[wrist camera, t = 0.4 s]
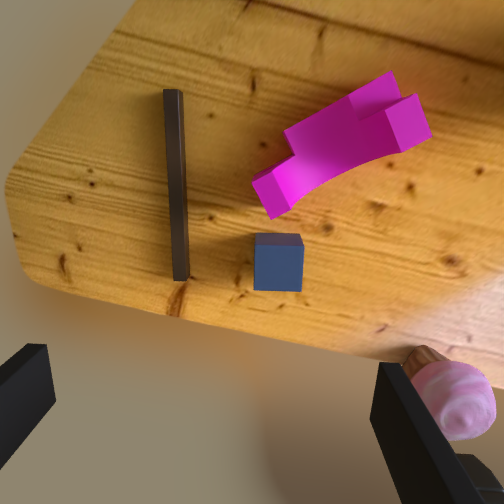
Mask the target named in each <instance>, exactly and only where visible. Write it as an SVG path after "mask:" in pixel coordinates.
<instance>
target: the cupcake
mask: <svg viewBox="0 0 504 504" xmlns="http://www.w3.org/2000/svg"><path fill="white" fill-rule="evenodd" d="M402 368H403V370H404V371H405V373H406V374H407V376H408V378H409V379H410V381H411V383H412V384H413V386H414V387H415V389H416V391H417V392H418V394H419V396H420V397H421V399H422V400H423V402H424V404H425V405H426V407H427V408H428V410H429V412H430V413H431V415H432V417H433V418H434V420H435V421H436V423H437V425H438V426H439V428H440V430H441V431H442V433H443V434H444V436H445V438H446V439H447V440H448V441H454V440H466V439H471V438H475V437H477V436H479V435H481V434H483V433H484V432H485V431H486V430H488V429H489V428H490V426H491V424H492V423H493V422H494V420H495V419H496V402H495V398H494V394H493V391H492V388H491V386H490V383H489V381H488V380H487V378H486V377H485V376H484V374H483V373H482V372H480V371H479V370H478V369H477V368H475V367H473V366H471V365H469V364H465V363H461V362H457V361H450V360H449V359H447V358H446V357H444V356H443V355H441V354H439V353H438V352H437V351H435V350H434V349H432V348H429V347H428V346H426V345H421V346H418V347H416V348H415V350H414V351H413V352H412V354H411V355H410V356H409V357H408V359H407V361H406V362H405V363H404V364H403V366H402Z"/></svg>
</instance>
